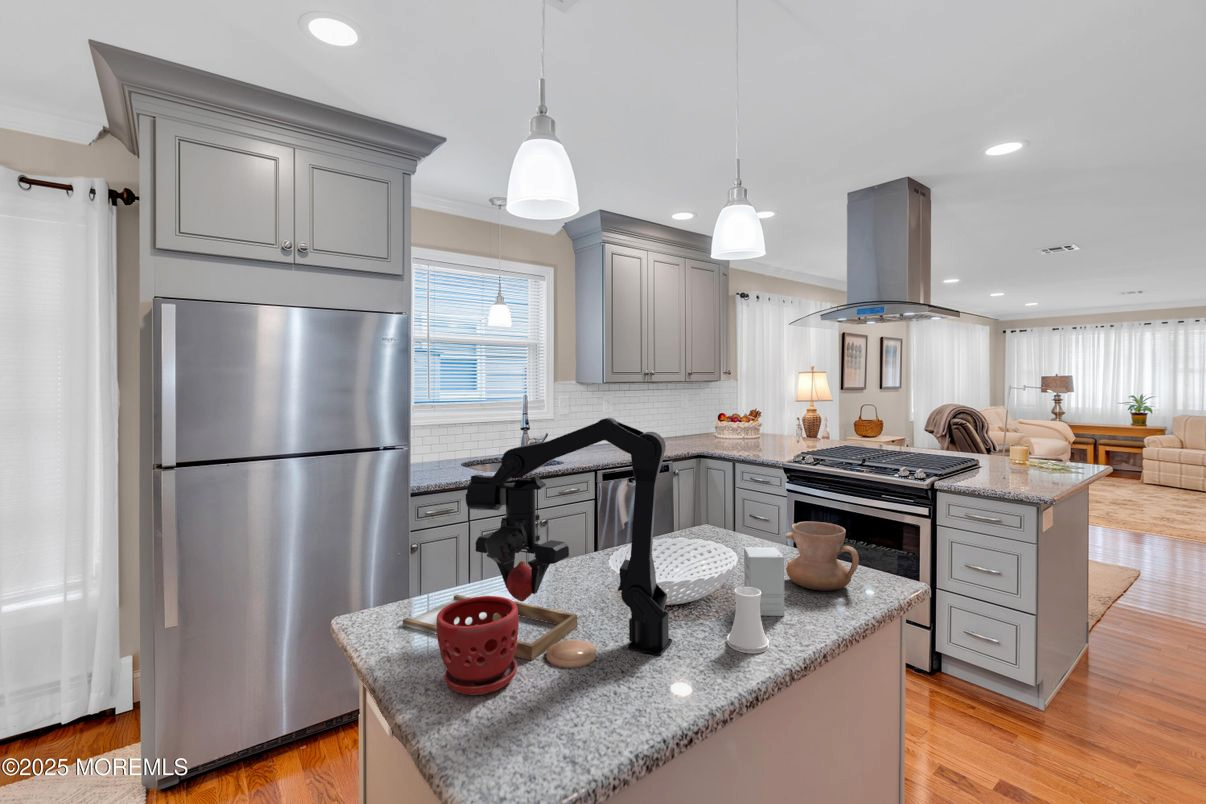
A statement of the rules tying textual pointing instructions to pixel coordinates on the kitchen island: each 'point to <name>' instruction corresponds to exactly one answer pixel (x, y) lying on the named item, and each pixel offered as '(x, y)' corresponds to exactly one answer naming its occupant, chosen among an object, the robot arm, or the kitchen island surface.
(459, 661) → the plant pot
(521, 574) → the onion
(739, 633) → the vase
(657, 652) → the robot arm
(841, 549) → the ceramic jug
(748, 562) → the supplement box
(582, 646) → the saucer
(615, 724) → the kitchen island surface
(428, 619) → the wooden double frame
